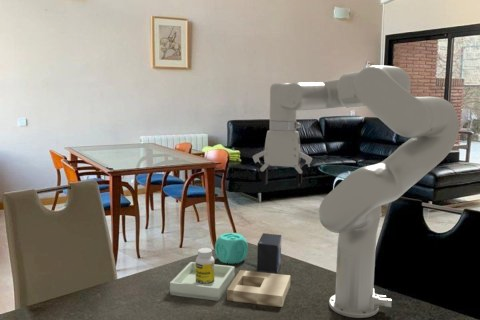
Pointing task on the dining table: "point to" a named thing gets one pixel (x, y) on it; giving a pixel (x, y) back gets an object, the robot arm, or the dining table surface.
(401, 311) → the dining table surface
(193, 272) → the tray
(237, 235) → the decorative dice
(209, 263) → the supplement bottle
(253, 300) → the beige flat square frame
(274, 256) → the small box
